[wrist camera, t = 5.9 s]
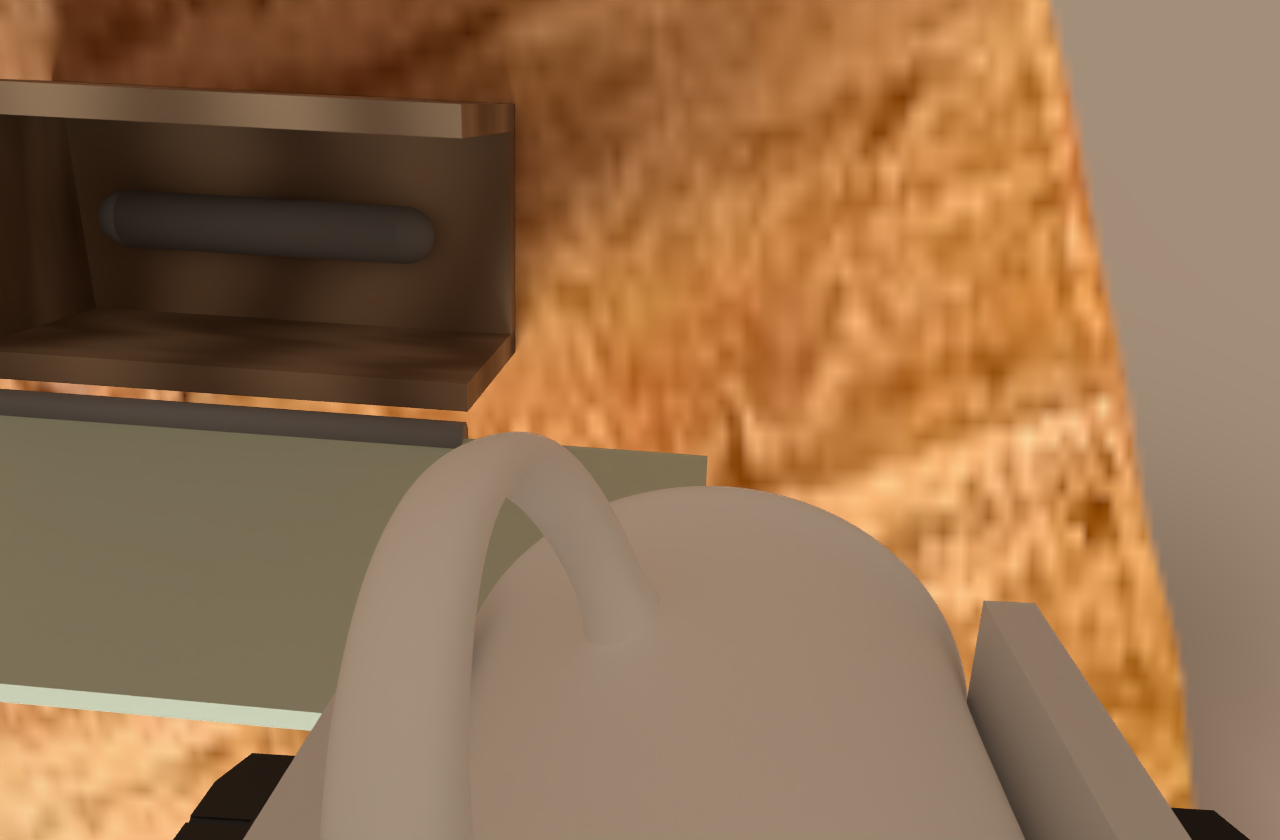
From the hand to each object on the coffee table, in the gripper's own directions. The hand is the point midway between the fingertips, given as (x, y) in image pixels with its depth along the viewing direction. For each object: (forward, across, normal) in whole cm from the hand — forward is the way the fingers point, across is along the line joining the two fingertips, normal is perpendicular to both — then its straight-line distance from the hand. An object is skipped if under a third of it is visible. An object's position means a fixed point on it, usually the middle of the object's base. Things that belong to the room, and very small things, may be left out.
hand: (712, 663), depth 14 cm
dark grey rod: (+20, -16, +4) cm, 26 cm away
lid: (+9, -12, -2) cm, 15 cm away
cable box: (+21, -16, +4) cm, 26 cm away
